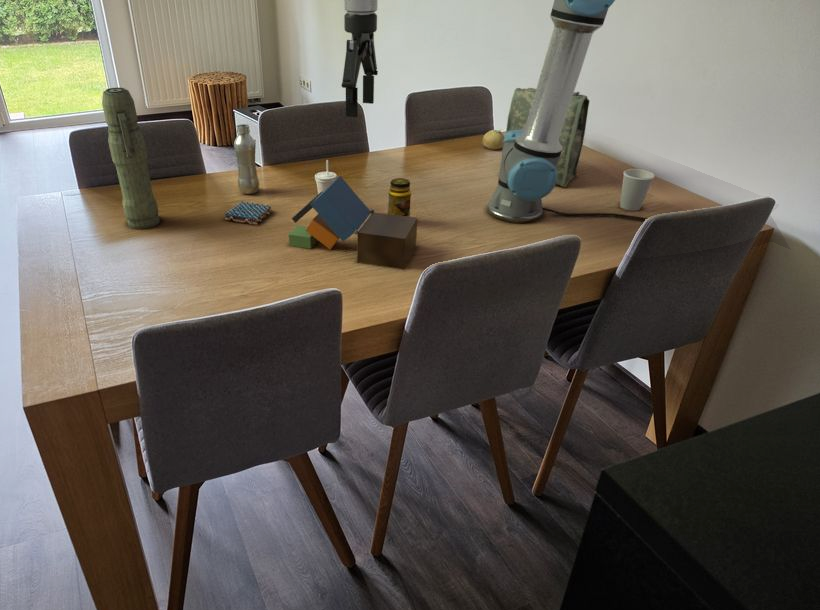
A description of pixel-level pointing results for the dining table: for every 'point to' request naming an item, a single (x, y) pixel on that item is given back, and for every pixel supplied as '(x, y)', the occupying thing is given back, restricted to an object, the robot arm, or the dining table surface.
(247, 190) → the plastic bottle
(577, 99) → the lunch bag
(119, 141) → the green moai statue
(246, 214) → the woven mat
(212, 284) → the dining table surface
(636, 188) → the dixie cup
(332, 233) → the orange rectangular block
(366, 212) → the blue open box
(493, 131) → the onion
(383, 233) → the stand
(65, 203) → the dining table surface
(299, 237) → the green square block
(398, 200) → the condiment
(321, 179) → the smoothie
